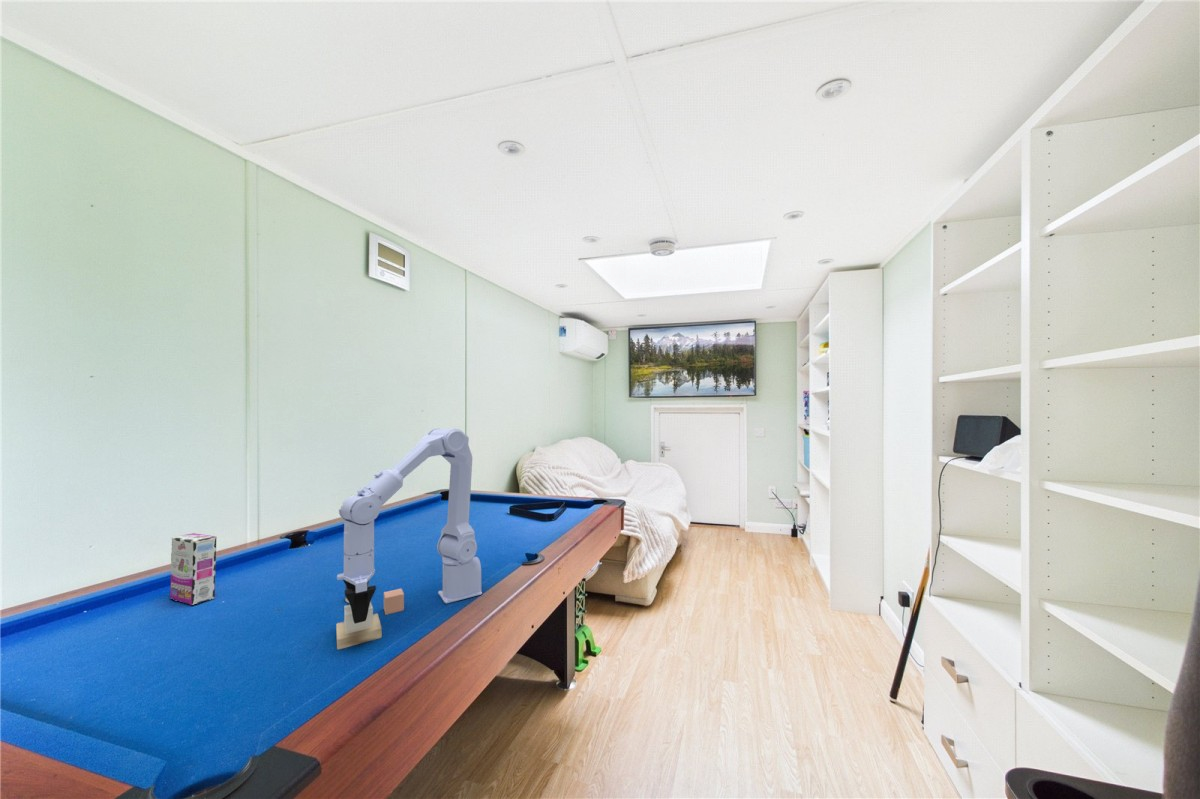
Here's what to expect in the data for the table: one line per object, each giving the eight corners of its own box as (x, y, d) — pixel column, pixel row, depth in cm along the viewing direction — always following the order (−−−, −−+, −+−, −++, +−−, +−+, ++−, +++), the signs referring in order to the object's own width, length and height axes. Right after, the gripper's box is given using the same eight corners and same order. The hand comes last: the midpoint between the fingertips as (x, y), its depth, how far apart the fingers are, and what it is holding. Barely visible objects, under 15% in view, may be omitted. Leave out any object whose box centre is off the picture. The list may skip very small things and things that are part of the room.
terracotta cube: (401, 604, 104) (401, 588, 104) (403, 610, 101) (403, 593, 101) (383, 608, 102) (383, 592, 102) (385, 615, 98) (385, 598, 99)
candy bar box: (216, 598, 109) (217, 535, 110) (192, 606, 104) (193, 541, 105) (193, 592, 113) (194, 532, 114) (168, 600, 109) (170, 537, 109)
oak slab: (377, 622, 95) (377, 613, 95) (381, 637, 88) (381, 628, 88) (336, 633, 90) (336, 623, 90) (337, 649, 84) (337, 639, 84)
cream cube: (370, 617, 93) (370, 599, 93) (372, 627, 89) (372, 608, 89) (344, 624, 90) (344, 605, 90) (345, 634, 86) (345, 614, 86)
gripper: (336, 546, 94) (336, 606, 93) (338, 564, 82) (337, 634, 81) (371, 540, 98) (371, 598, 97) (378, 557, 86) (378, 624, 85)
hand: (358, 614), depth 89 cm, fingers open, 7 cm apart
